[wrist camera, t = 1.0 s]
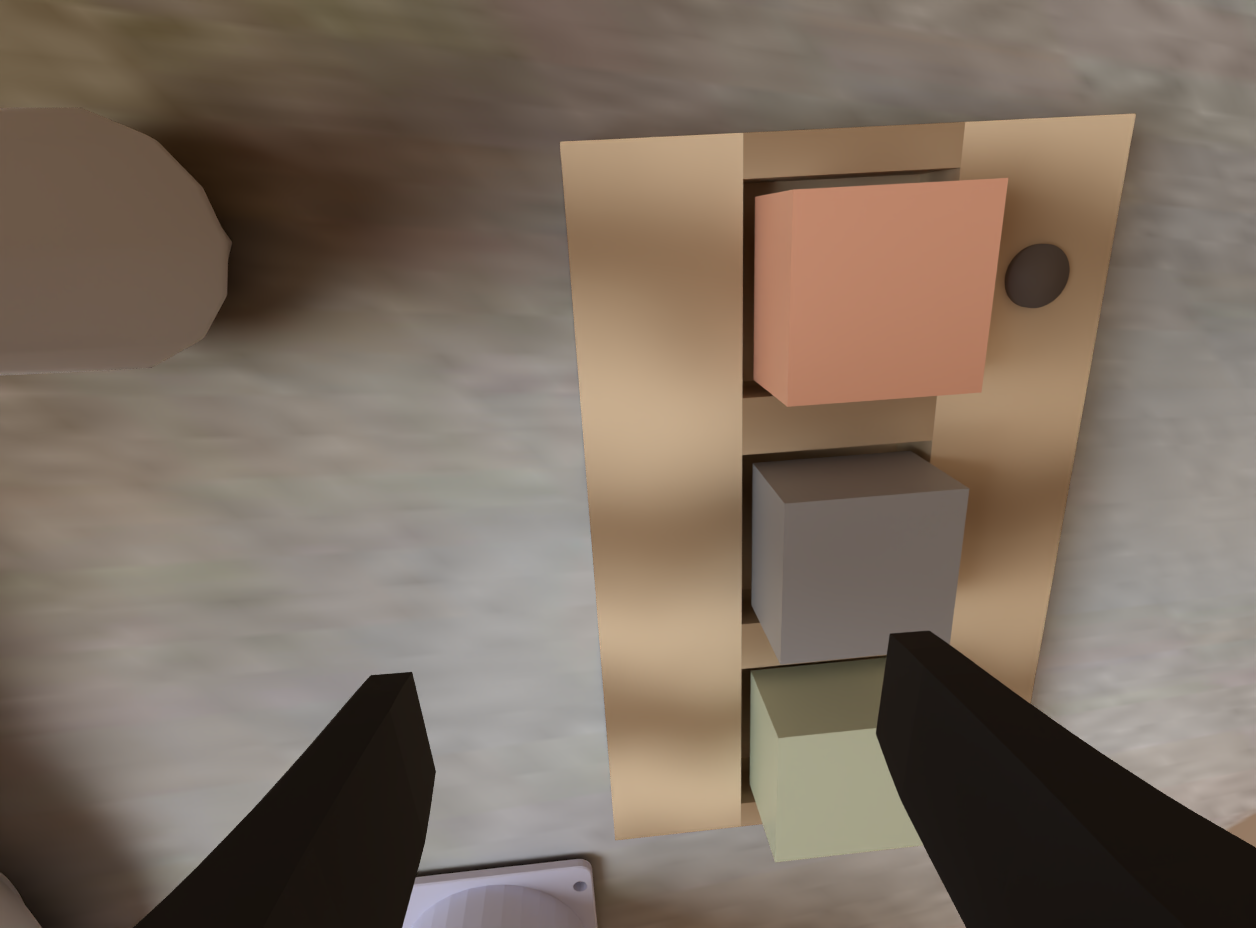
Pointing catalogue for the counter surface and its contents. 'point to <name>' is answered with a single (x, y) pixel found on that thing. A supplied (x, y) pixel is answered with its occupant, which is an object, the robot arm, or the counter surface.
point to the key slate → (854, 552)
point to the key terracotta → (875, 290)
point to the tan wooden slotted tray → (804, 416)
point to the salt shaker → (100, 246)
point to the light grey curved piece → (14, 908)
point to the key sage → (823, 762)
